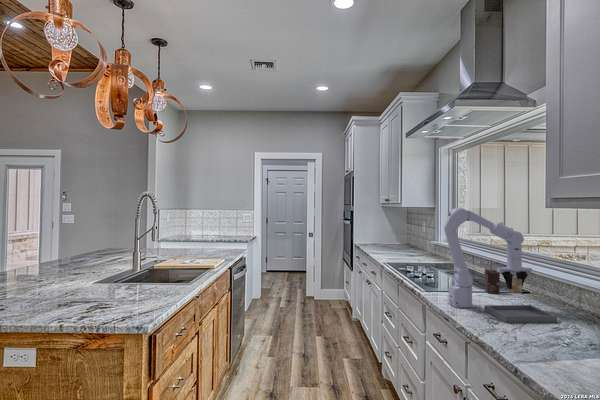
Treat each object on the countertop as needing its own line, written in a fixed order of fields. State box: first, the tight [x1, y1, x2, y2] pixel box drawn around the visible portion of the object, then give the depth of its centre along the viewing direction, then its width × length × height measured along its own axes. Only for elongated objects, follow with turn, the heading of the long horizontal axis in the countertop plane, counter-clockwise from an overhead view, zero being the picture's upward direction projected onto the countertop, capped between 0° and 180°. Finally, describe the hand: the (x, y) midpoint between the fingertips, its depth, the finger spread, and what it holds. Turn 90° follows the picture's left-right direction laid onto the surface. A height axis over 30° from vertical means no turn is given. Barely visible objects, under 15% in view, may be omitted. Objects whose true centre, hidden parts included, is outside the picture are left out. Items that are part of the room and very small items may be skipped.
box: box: [484, 268, 501, 294], centre depth 191 cm, size 6×4×12 cm
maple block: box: [506, 277, 523, 294], centre depth 163 cm, size 4×4×6 cm
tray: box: [484, 304, 558, 324], centre depth 150 cm, size 20×16×2 cm
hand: (514, 288), depth 163 cm, fingers closed on maple block, 4 cm apart
